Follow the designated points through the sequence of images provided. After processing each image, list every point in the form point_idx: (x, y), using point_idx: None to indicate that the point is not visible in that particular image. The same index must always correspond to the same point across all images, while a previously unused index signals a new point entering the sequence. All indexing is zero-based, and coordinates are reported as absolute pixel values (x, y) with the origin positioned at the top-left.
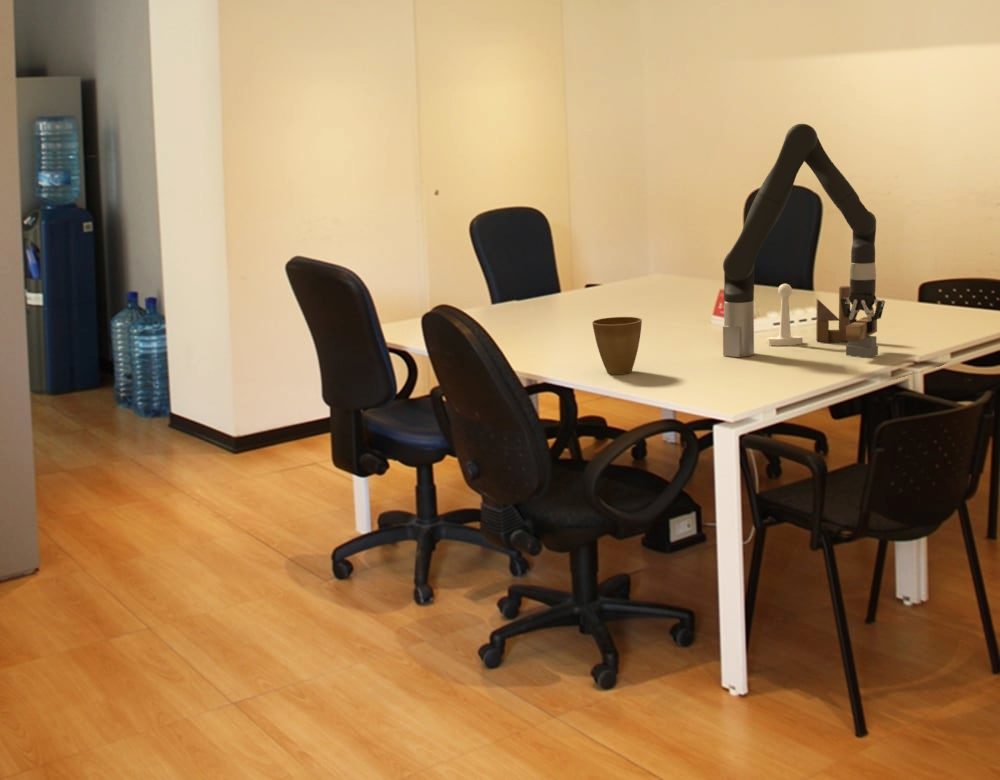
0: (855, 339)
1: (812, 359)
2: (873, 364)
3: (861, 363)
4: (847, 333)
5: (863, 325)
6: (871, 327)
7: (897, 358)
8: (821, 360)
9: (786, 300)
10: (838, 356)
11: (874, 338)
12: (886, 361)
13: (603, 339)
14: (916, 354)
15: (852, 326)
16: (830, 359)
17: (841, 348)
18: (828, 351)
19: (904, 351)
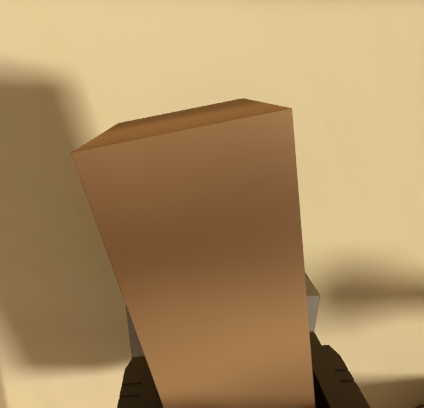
0: (151, 119)
1: (413, 18)
2: (9, 62)
3: (90, 54)
4: (241, 104)
5: (140, 327)
6: (129, 391)
7: (23, 276)
8: (352, 16)
9: None
10: (305, 177)
11: (131, 331)
12: (12, 185)
13: None
14: (19, 380)
15: (185, 138)
16: (313, 76)
17: (360, 333)
18: (393, 258)
19: (101, 400)
